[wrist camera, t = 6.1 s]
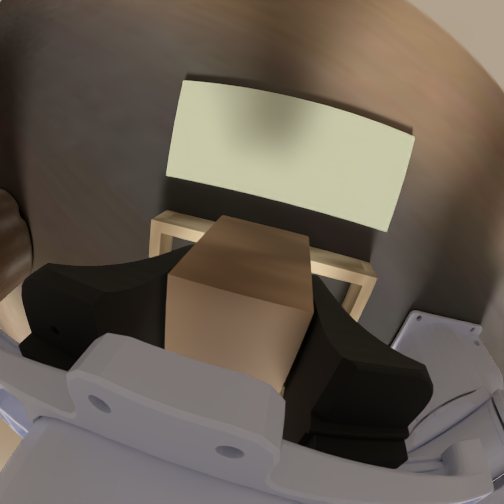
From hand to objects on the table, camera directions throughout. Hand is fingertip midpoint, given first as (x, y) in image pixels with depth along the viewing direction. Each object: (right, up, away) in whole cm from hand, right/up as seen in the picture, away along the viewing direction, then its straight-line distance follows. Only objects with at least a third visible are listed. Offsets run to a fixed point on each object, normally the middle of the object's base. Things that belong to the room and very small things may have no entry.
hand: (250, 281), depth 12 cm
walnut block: (0, +1, +2) cm, 2 cm away
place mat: (+2, +8, +6) cm, 10 cm away
